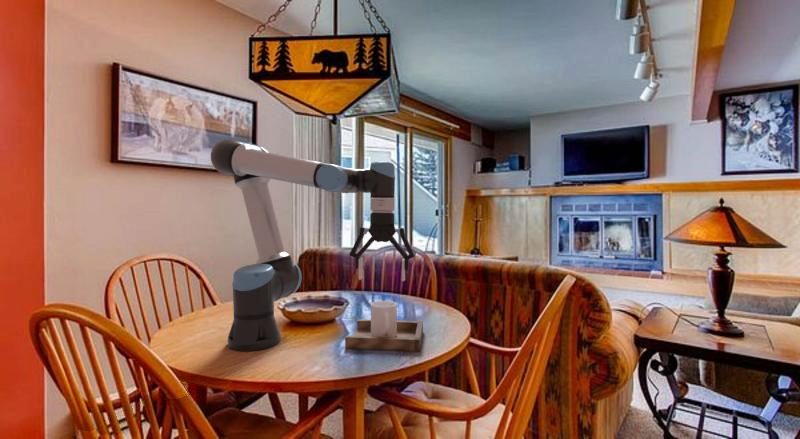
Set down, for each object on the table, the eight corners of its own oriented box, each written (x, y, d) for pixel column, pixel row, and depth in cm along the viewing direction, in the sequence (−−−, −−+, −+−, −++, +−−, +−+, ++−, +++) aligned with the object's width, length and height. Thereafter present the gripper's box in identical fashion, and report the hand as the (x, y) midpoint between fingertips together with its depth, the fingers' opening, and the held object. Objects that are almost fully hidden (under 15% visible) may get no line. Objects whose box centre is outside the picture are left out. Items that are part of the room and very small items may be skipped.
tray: (345, 348, 118) (345, 337, 118) (358, 329, 136) (358, 319, 136) (419, 351, 116) (419, 339, 115) (422, 331, 134) (422, 321, 133)
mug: (400, 343, 120) (400, 309, 120) (373, 345, 119) (373, 311, 119) (394, 331, 132) (394, 300, 132) (369, 332, 131) (369, 301, 131)
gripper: (340, 211, 122) (339, 280, 123) (421, 212, 119) (420, 283, 120) (346, 211, 130) (345, 276, 131) (423, 212, 127) (422, 278, 128)
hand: (381, 279), depth 126 cm, fingers open, 13 cm apart
